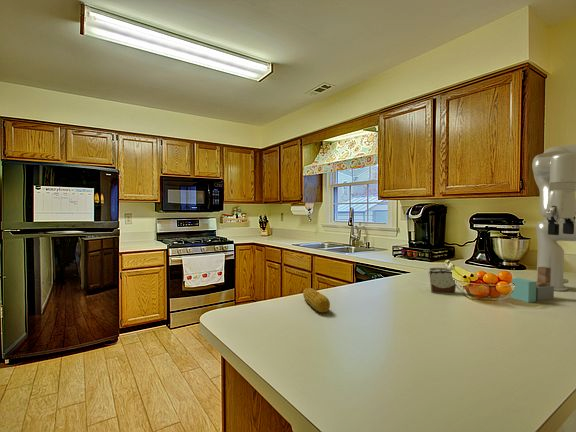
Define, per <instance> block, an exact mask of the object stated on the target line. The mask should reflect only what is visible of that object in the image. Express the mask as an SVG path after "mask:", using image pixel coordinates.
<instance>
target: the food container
mask: <svg viewBox="0 0 576 432" xmlns="http://www.w3.org/2000/svg"><path fill="white" fill-rule="evenodd" d="M428 269H429V270H428V271H427V272H428V273H427V274H428V275H429V280H430V281H429V282H430V290H431V291H430V292H431V294H443V295H445V294H448V295H450V294H451V295H452V294H453V295H455V293H456V288H457V287H456V286H457V283H456V284H455V280H453V278H452V272H451V269H452V268H447V267H429V268H428Z"/></svg>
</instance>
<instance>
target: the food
mask: <svg viewBox="0 0 576 432" xmlns="http://www.w3.org/2000/svg"><path fill="white" fill-rule="evenodd" d="M302 292H303V293H302V295H303V299H304V300H305V302H307V304H309V306H310V307H312V309H315V311H317V312H318V313H321V314H322V313H326V312H328V311H329V310H330V308H331V306H330V305H331V302H330V300H329V298H328V297H327V296H326V295H324V294H322V293H321V292H319V291H318V290H316V289H314V288H311V287H306V288H304V290H303V291H302Z"/></svg>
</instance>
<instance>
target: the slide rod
mask: <svg viewBox="0 0 576 432" xmlns="http://www.w3.org/2000/svg"><path fill="white" fill-rule="evenodd" d="M550 279H551V268H548V267H538V279H537V278H536V287H542V286H550Z"/></svg>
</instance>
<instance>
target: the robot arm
mask: <svg viewBox="0 0 576 432" xmlns="http://www.w3.org/2000/svg"><path fill="white" fill-rule="evenodd" d="M531 167H532V172H533V173H532V174H533V178H534V181H535V183H536V185H537V188H538V191H539V212H540V215H541V216H542V218H546V219H542V220H540V221H538V222H537V223H536V225H535V233H536V239H537V241H536V242H537V257H536V259H537V260H536V261H537V262H536V263H537V264H536V280H537V279H538V267H548V268H551V279H550V286H554V292H555V291H557V292H565V291H567V290H568V286H566V285H564V284H569V282H570V281H569V279H567V278H564V272H565V271H564V268H565V267H564V266H565V265H564V264H565V262H564V261H565V250H564V248H563V247H562V245H560V244H559V243H558V242H561V241H563V242H576V193H575V192H576V144H569V145H568V144H567V145H557V146H555V145H554V146H550V147H548V148H546V149H545V150H544V152H543V153H540V154H537V155H535V157H534V158H533V159H532V163H531Z"/></svg>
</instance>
